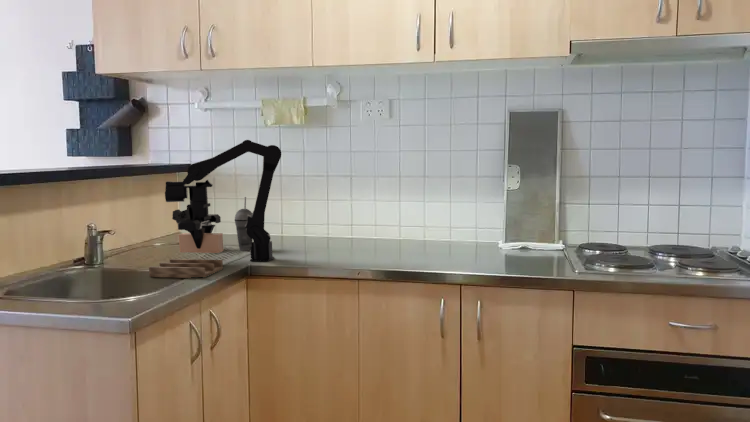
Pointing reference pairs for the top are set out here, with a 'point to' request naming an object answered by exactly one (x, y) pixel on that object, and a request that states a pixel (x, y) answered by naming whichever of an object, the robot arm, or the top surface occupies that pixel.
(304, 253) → the top surface
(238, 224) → the beverage cup
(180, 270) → the drying rack
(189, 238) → the pink rectangular block
